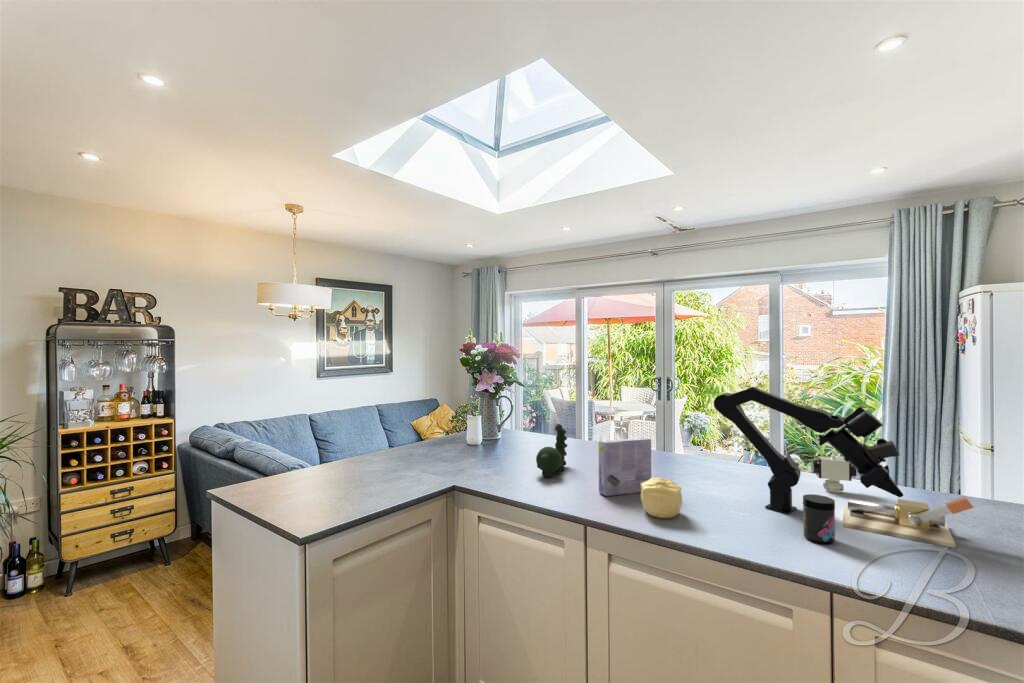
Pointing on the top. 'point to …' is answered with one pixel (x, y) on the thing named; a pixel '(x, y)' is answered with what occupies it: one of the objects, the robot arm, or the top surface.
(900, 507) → the valve pipe
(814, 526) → the supplement container
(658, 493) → the sculpture
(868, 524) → the mounting board
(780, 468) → the robot arm
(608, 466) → the cake pan box
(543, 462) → the toy figurine
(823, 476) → the pneumatic valve
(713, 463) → the top surface
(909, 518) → the valve lever
